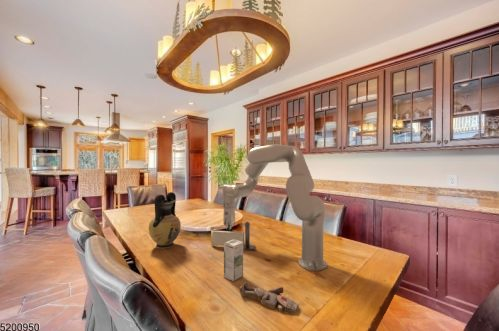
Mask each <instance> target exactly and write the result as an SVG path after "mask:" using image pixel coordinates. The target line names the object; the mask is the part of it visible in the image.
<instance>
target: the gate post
mask: <svg viewBox="0 0 499 331" xmlns="http://www.w3.org/2000/svg"><path fill="white" fill-rule="evenodd" d="M250 225H251V223H250V222H249V221H246V222H245V223H244V229H245V232H244V251H255V249H256V245H255V244H253V245H252V244H250V243H251V242H250V239H251V238H250V237H251V236H250V235H251V234H250Z"/></svg>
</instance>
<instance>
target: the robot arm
mask: <svg viewBox="0 0 499 331" xmlns="http://www.w3.org/2000/svg"><path fill="white" fill-rule="evenodd" d="M246 157H247V161H248V162H249V163H248V164H247V165H246V166H245V168H244V171H245V173H246V175H247V176H248V177H247V179H246V180H245V181H244V183H240V184H239V183H238V184H233V183H225V184H223V185H222V209H223V219H222V221H223V225H224V226H225V231H231V232H233V225H234V223H235V222H236V210H235V208H236V199H239V198H245V197H248V196H250V195H251V194H252V193H253V191H254V190H255V188H256V187H257V185H258V181H259V177H260V175H262V172H263V171H264V170H265V168H266V167H267V166H268V164H270V163H288V170H289V173H290V176H289V177H288V178H287V180H286V183H285V190H286V193H287V196H288V199H289V202H290V205H291V208H292V210H293V212H294V213H293V214H294V215H295V217H297V219H299V220H301V257H300V258H298V265H299V266H300V267H301V268H302V269H304V270H308V271H315V272H316V271H323V270H325V269H327V267H328V263H327V261H326V260H325V259H324V220H325V214H326V213H325V211H326V207H325V205H326V204H325V202H324V200H323V199H322V198H321V197H319V196H317V195H310V193H311V192H312V191H314V188H315V183H314V179H313V176H312V174H311V171H310V169H309V166H308V165H307V162H306V160H305V156H304V154H303V152H302V151H301V149H300V148H298V147H297V146H294V145H288V144H287V145H286V144H277V143H276V144H273V143H272V144H267V145H262V146H257V147H253V148H251V149H250V150H249V151H248V153H247V156H246Z"/></svg>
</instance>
